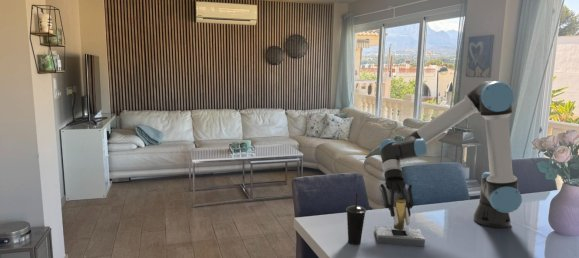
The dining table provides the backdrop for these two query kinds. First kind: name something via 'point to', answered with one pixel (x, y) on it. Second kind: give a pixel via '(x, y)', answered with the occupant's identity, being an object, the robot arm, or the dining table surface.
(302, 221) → the dining table surface
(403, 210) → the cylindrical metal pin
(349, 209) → the black tumbler with straw
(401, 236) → the jig
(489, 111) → the robot arm
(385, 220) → the dining table surface
